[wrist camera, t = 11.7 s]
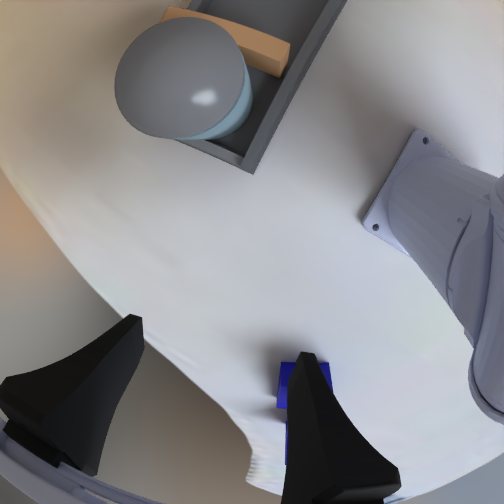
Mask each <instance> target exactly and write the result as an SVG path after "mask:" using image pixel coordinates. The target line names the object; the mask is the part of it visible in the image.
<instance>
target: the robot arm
mask: <svg viewBox="0 0 504 504" xmlns="http://www.w3.org/2000/svg"><path fill="white" fill-rule="evenodd" d="M424 137H425V138H426V143H425V144H424V143H423V138H424ZM374 224H378V226H377V228H376V229H372V227H373V225H374ZM362 225H363V227H364V228H365V229H366V230H367V231H369V232H371V233H372V234H374V235H376V236H377V237H379V238H381V239H382V240H384V241H386V242H387V243H389V244H391V245H392V246H394V247H395V248H397V249H399V250H400V251H402V252H403V253H405V254H407V255H408V256H410V257H411V258H413V260H414V261H415V262H416V263H417V264H418V266H419V267H420V268H421V270H422V271H423V272H424V273H425V275H426V276H427V277H428V279H429V280H430V281H431V282H432V284H433V285H434V286H435V288H436V289H437V290H438V292H439V293H440V295H441V296H442V297H443V299H444V300H445V301H446V303H447V304H448V306H449V307H450V309H451V310H452V311H453V313H454V314H455V316H456V317H457V319H458V320H459V322H460V323H461V324H462V325H463V326H464V328H465V329H464V334H465V335H466V337H467V339H468V340H469V342H470V343H471V345H472V347H473V348H474V351H473V354H472V357H471V360H470V364H469V369H468V381H469V388H470V391H471V394H472V397H473V399H474V401H475V403H476V404H477V406H478V407H479V408H480V410H481V411H482V412H483V413H484V414H485V415H487V416H488V417H489V418H491V419H492V420H494V421H495V422H498V423H501V424H503V425H504V174H503V175H502V177H501V178H497V177H495V176H493V175H490V174H488V173H485V172H483V171H480V170H477V169H475V168H472V167H470V166H467V165H464V164H461V163H460V162H459V161H458V160H457V159H456V158H454V157H453V156H452V155H451V154H450V153H449V152H448V151H447V150H446V149H445V148H443V147H442V146H441V145H440V144H439V143H438V142H437V141H435V140H434V139H433V138H432V137H431V136H429V135H428V134H427V133H426V132H424V131H423V130H421V129H416V130H414V131H413V133H412V134H411V136H410V138H409V140H408V142H407V144H406V146H405V148H404V150H403V151H402V153H401V155H400V157H399V159H398V160H397V162H396V164H395V166H394V168H393V169H392V171H391V173H390V175H389V176H388V178H387V180H386V182H385V183H384V185H383V187H382V188H381V190H380V192H379V194H378V195H377V197H376V199H375V200H374V202H373V204H372V205H371V207H370V208H369V210H368V212H367V213H366V215H365V217H364V218H363V220H362ZM143 351H144V337H143V324H142V317H139V316H136V315H133V314H129V315H128V316H126V317H125V318H124V319H122V320H121V321H120V322H119V323H117V324H116V325H115V326H113V327H112V328H111V329H109V330H108V331H107V332H105V333H104V334H102V335H101V336H100V337H98V338H97V339H96V340H94V341H93V342H91V343H90V344H88V345H86V346H85V347H83V348H82V349H80V350H78V351H77V352H75V353H73V354H72V355H70V356H68V357H66V358H64V359H62V360H60V361H57V362H55V363H53V364H51V365H48V366H46V367H43V368H40V369H37V370H34V371H31V372H27V373H23V374H19V375H14V376H9V377H6V378H5V380H4V381H3V382H2V384H1V385H0V408H1V410H2V411H3V412H4V413H5V415H6V416H7V417H8V418H9V420H8V422H7V423H6V422H5V421H4V420H3V419H2V418H0V474H1V475H2V476H3V477H4V478H5V479H7V480H8V481H9V482H10V483H12V484H13V485H14V486H15V487H17V488H18V489H19V490H21V491H22V492H23V493H25V494H26V495H27V496H29V497H30V498H32V499H33V500H35V501H36V502H37V503H39V504H108V503H107V502H106V501H104V500H102V499H100V498H98V497H96V496H94V495H92V494H90V493H88V492H86V491H85V490H84V489H86V490H88V491H90V492H92V493H94V494H97V495H99V496H101V497H103V498H106V499H108V500H111V501H113V502H115V503H118V504H164V503H161V502H157V501H154V500H151V499H148V498H144V497H141V496H138V495H136V494H133V493H130V492H127V491H124V490H122V489H119V488H116V487H114V486H112V485H109V484H107V483H105V482H102V481H100V480H98V479H96V478H93V476H95V475H97V472H98V467H99V463H100V458H101V454H102V450H103V446H104V442H105V439H106V436H107V432H108V429H109V426H110V423H111V420H112V418H113V414H114V412H115V409H116V407H117V405H118V403H119V401H120V399H121V396H122V395H123V393H124V391H125V389H126V387H127V385H128V383H129V382H130V380H131V378H132V376H133V374H134V372H135V370H136V368H137V366H138V364H139V361H140V358H141V356H142V353H143ZM287 417H288V455H287V465H286V474H285V481H284V488H283V494H282V500H281V504H384V501H383V499H384V498H386V497H387V496H389V495H391V494H393V493H395V492H396V491H398V490H399V489H400V488H401V480H400V474H399V471H398V468H397V467H396V466H395V465H393V464H392V463H391V462H389V461H388V460H387V459H386V458H384V457H383V456H382V455H381V454H380V453H379V452H378V451H377V450H376V449H374V448H373V447H372V446H371V445H370V443H369V442H368V441H367V440H366V439H365V438H364V437H363V436H362V435H361V434H360V432H359V431H358V430H357V429H356V427H355V426H354V425H353V424H352V422H351V421H350V419H349V418H348V417H347V415H346V414H345V412H344V411H343V409H342V407H341V406H340V404H339V402H338V401H337V399H336V397H335V395H334V394H333V392H332V390H331V388H330V386H329V384H328V382H327V380H326V378H325V376H324V374H323V372H322V370H321V367H320V365H319V363H318V361H317V358H316V356H315V354H314V353H308V352H300V355H299V357H298V359H297V361H296V364H295V366H294V368H293V370H292V373H291V375H290V377H289V379H288V390H287Z"/></svg>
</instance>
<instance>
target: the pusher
mask: <svg viewBox="0 0 504 504" xmlns="http://www.w3.org/2000/svg"><path fill="white" fill-rule="evenodd" d="M180 17H196V18H202V19H206V20H209V21H211V22H214V23H216V24H218V25H219V26H221V27H222V28H224V29H225V30H226V31H227V32H228V33H229V34H230V35H231V36H232V37H233V39H234V40H235V41H236V43H237V45H238V47H239V49H240V51H241V53H242V55H243V57H244V61H245V64H246V65H249V66H251V67H254V68H256V69H259V70H261V71H263V72H266V73H268V74H270V75H273V76H275V77H277V78H279V79H280V77H281V76H282V74H283V72H284V70H285V68H286V66H287V63H288V56H289V50H290V43H287V42H285V41H283V40H280V39H278V38H276V37H273V36H271V35H268V34H265V33H263V32H260V31H258V30H255V29H252V28H249V27H246V26H243V25H240V24H237V23H234V22H231V21H228V20H225V19H221V18H218V17H214V16H211V15H207V14H203V13H199V12H195V11H191V10H186V9H182V8H177V7H172V6H169V7H168V9H167V11H166V12H165V14H164V16H163V18H162V19H161V21H160V23H161V22H163V21H166V20H170V19H174V18H180Z"/></svg>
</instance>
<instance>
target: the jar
mask: <svg viewBox="0 0 504 504" xmlns="http://www.w3.org/2000/svg"><path fill="white" fill-rule="evenodd" d="M115 97H116V101H117V104H118V107H119V109H120V111H121V113H122V115H123V116H124V118H125V119H126V120H127V121H128V122H129V123H130V124H131V125H132V126H133V127H134V128H136V129H137V130H139V131H141V132H143V133H145V134H147V135H150V136H154V137H159V138H167V139H199V140H212V139H219V138H223V137H226V136H228V135H230V134H232V133H234V132H235V131H237V130H238V129H239V128H240V127H241V126H242V125H243V124H244V123H245V122H246V121H247V119H248V117H249V116H250V113H251V111H252V108H253V103H254V92H253V88H252V84H251V81H250V77H249V74H248V71H247V67H246V64H245V61H244V57H243V55H242V53H241V51H240V49H239V47H238V45H237V43H236V41H235V40H234V39H233V37H232V36H231V35H230V34H229V33H228V32H227V31H226V30H225V29H224V28H222V27H221V26H219V25H218V24H216V23H214V22H211V21H209V20H206V19H202V18H196V17H180V18H174V19H170V20H166V21H163V22H161V23H158V24H156V25H154V26H153V27H151V28H149V29H148V30H146V31H145V32H143V33H142V34H141V35H140V36H138V37H137V38H136V39H135V40H134V41H133V42H132V44H131V45H130V46H129V47H128V49H127V50H126V51H125V53H124V55H123V57H122V58H121V61H120V63H119V65H118V68H117V72H116V77H115Z"/></svg>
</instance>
